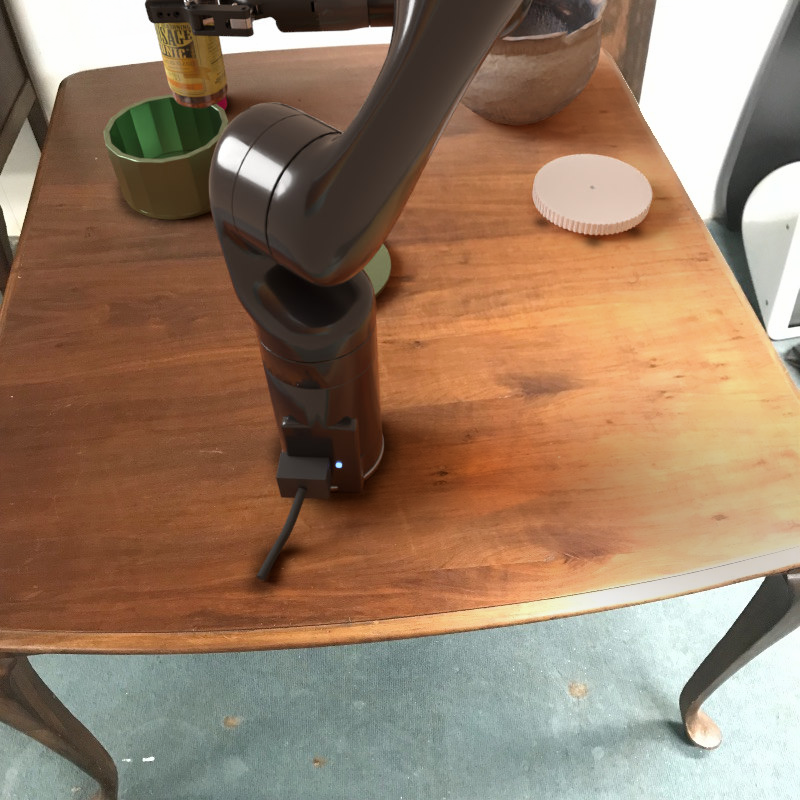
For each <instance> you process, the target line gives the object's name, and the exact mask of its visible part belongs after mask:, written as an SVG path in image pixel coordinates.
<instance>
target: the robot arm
mask: <svg viewBox="0 0 800 800" xmlns="http://www.w3.org/2000/svg"><path fill="white" fill-rule="evenodd" d="M207 2H208V4H203V3H207ZM531 3H532V0H145V2H144V8H145V11H146V15H147V19H148V21H149V22H150V23H152V24H154V23H189V26H191V28H192V33H193V35H195V36H219V37H228V38H229V37H232V38H233V37H235V38H250V37H253V36H254V35H255V32H254V24H253V22H254V21H260V20H263V19H269V18H272V19H273V20H274V21H275V26H276V28H277V29H278V31H279V32H280V33H282V34H283V33H285V34H286V33H319V32H321V33H322V32H345V31H346V32H347V31H354V30H359V29H366V28H392V30H391V36H390V43H389V46H388V50H387V53H386V57H385V59H384V62H383V65H382V67H381V70H380V71H379V73H378V75H377V76H376V77H377V78H376V79H375V81H374V83H373V85H372V87H371V89H370V90H369V93H368V94H367V96H366V97H365V99H364V101H363V103H362V104H361V106H360V108H359V110H358V111H357V113H356V115H355V116H354V117H353V119H352V121H351V122H350V123H349V125H348V126H347V127H346V128H345V130H344V131H343V130H341V129H339V128H337V127H335V126H333V125H331V124H329V123H327V122H325V121H323V120H322V119H319V118H317V117H316V116H313V115H312V114H310V113H307V112H305V111H303V110H301V109H299V108H297V107H295V106H292V105H289V104H287V103H282V102H274V101H271V102H261V103H258V104H257V103H256V104H255V105H252V106H250V107H247V108H246V109H244V110H242V111H241V112H240V113H238V114H237V115H236V116H234V117H233V119H232V120H231V121H230V122H229V124H228V126H227V127H226V128H225V130H224V131H223V133H222V134H221V136H220V138H219V140H218V142H217V145H216V147H215V150H214V153H213V156H212V160H211V164H210V171H209V200H210V207H211V211H210V212H211V217H212V221H213V225H214V229H215V232H216V236H217V239H218V243H219V246H220V249H221V253H222V256H223V259H224V262H225V266H226V269H227V272H228V275H229V279H230V282H231V285H232V288H233V290H234V294H235V295H236V298H237V300H238V301H239V303H240V305H241V307H242V308H243V309H244V311H245V312H246V314H247V315H248V316H249V318H250V319H251V321H252V322H253V326H254V330H255V334H256V339H257V343H258V347H259V351H260V357H261V361H262V366H263V370H264V375H265V379H266V384H267V389H268V393H269V397H270V402H271V406H272V411H273V416H274V419H275V424H276V428H277V429H276V430H277V433H278V437H279V441H280V442H279V443H280V447H281V452H280V455H279V459H278V465H277V470H276V476H275V479H276V483H277V487H278V491H279V496H280V497H281V498H291V499H293V501H292V504H291V507H290V510H289V512H288V515H287V518H286V521H285V523H284V525H283V527H282V530H281V532H280V533H279V535H278V537H277V538H276V540H275V541H274V543H273V545H272V547H271V549H270V551H269V552H268V554H267V556H266V558H265V560H264V562H263V564H262V565H261V567H260V569H259V570H258V572H257V574H256V578H257V579H258V580H260V581H262V582H264V581H266V579H267V578H268V575H270V572H271V570H272V568H273V567H274V564H275V562H276V561H277V559H278V557H279V555H280V553H281V551H282V549H283V548H284V546H285V545H286V543H287V541H288V539H290V536H291V534H292V532H293V529H294V527H295V525H296V522H297V520H298V517H299V515H300V512H301V509H302V506H303V503H304V501H305V499H307V500H308V499H311V500H330V496H331V492H344V493H362V492H363V489H364V482H365V481H367V480H368V479H369V478H370V477H372V475H374V473H375V472H376V471H377V470H378V468H379V467H380V465H381V463H382V460H383V457H384V452H385V440H384V434H383V421H382V403H381V385H380V367H379V364H380V363H379V349H378V326H377V325H378V324H377V301H376V298H375V292H374V288H373V285H372V283H371V280H370V278H369V276H368V275H367V273H366V272H365V270H364V269H363V268H364V267H365V266H366V265H367V264H368V263H369V262H370V261H371V260H372V258H373V257H374V256H375V254H376V253H377V252H378V251H379V249H380V248H381V246H382V244H384V243H385V242H386V241H387V238H388V237H389V235H390V234H391V232H392V230H393V229H394V228H395V225H396V224H397V221H398V220H399V218H400V216H401V214H402V212H403V211H404V208H405V207H406V205H407V203H408V201H409V200H410V198H411V195H412V193H413V191H414V190H415V188H416V185H417V184H418V182H419V180H420V178H421V176H422V174H423V172H424V170H425V168H426V166H427V164H428V162H429V160H430V158H431V157H432V155H433V153H434V151H435V149H436V147H437V145H438V144H439V141H440V140H441V137H442V135H443V134H444V132H445V130H446V128H447V127H448V124H449V122H450V120H451V119H452V117H453V115H454V113H455V111H456V109H457V108H458V106H459V104H460V103H461V102H460V101H461V99H462V97H463V95H464V94H465V92H466V90H467V88H468V87H469V85H470V83H471V81H472V80H473V78H474V77H475V75H476V74H477V72H478V70H479V69H480V67H481V65H482V64H483V62H484V61H485V59H486V57H487V56H488V54H489V52H490V51H491V49H492V48H493V46H494V44H495V43H496V42H497V41H499V40H502V39H503V38H505V37H507V36H508V35H510V34H511V33H512V32H513V31H515V30H516V29H517V27H518V26H519V25H520V24H521V22H522V21H523V20H524V18H525V16H526V14H527V12H528V10H529V8H530V6H531ZM209 23H214V25H205V24H209Z"/></svg>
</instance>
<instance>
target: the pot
mask: <svg viewBox="0 0 800 800" xmlns="http://www.w3.org/2000/svg"><path fill="white" fill-rule="evenodd" d="M229 123H230V122H229V120H228V116H227V114H226V111H225V110H224V109H223V108H221V107H220V106H218V105H217V104H214V105H212V106H209V107H207V108H203V109H198V108H190V107H185V106H182V105H180V104H178V103H177V101H176V100H175V99H174V97H173V94H172V93H171V94H164V95H158V96H153V97H152V96H151V97H148V98H147V97H146V98H144V99H142V100H140V101H137V102H135V103H132V104H130V105H126V106H125V107H123V108H122V109H121V110H119V111H118V112H117V113H116V114H114V115H113V116H112V117H111V118H110V119H109V121H108V122H107V124H106V126H105V127H104V130H103V139H104V144H105V147H106V151H107V154H108V156H109V159H110V162H111V166H112V168H113V171H114V173H115V176H116V179H117V182H118V185H119V188H120V191H121V193H122V196H123V199H124V200H125V202H126V203H127V204H128V206H129V207H130V208H131V209H132V210H134V211H135V212H137V214H141V215H143V216H145V217H148V218H150V219H151V218H152V219H157V220H165V221H166V220H167V221H168V220H169V221H170V220H172V221H173V220H175V221H176V220H185V219H190V218H195V217H199V216H202V215H204V214H207V213H209V212H211V207H210V200H209V171H210V164H211V160H212V156H213V153H214V150H215V147H216V145H217V142H218V140H219V138H220V136H221V134H222V133H223V131H224V130H225V128H226V127H227V126H228V124H229Z"/></svg>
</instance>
